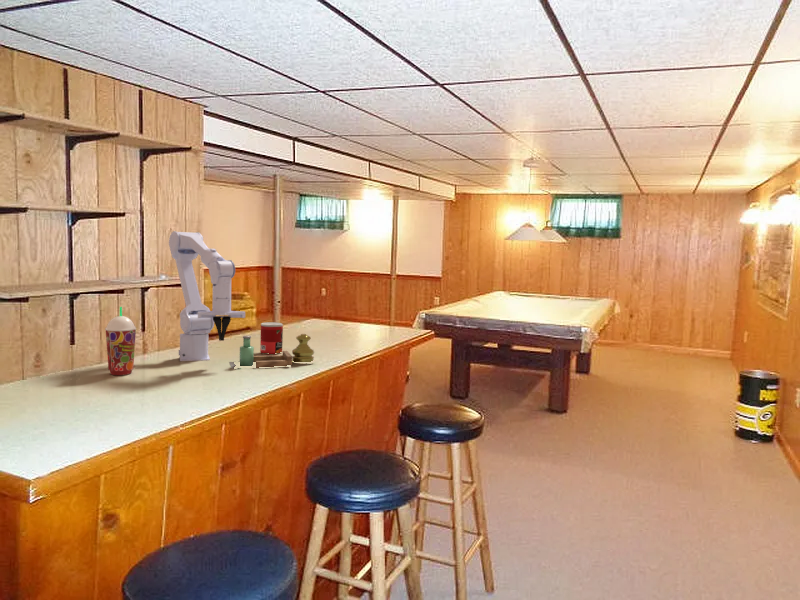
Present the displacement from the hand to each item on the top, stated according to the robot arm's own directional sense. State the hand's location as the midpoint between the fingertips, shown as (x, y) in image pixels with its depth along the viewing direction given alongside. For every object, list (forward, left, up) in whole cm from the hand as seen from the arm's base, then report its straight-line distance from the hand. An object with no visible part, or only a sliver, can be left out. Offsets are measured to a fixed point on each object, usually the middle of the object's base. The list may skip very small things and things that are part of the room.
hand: (221, 340), depth 194 cm
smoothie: (-29, -5, -9) cm, 31 cm away
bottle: (+8, 0, -8) cm, 12 cm away
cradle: (+12, 0, -9) cm, 15 cm away
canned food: (+19, +21, -9) cm, 30 cm away
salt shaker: (+27, +2, -9) cm, 28 cm away
